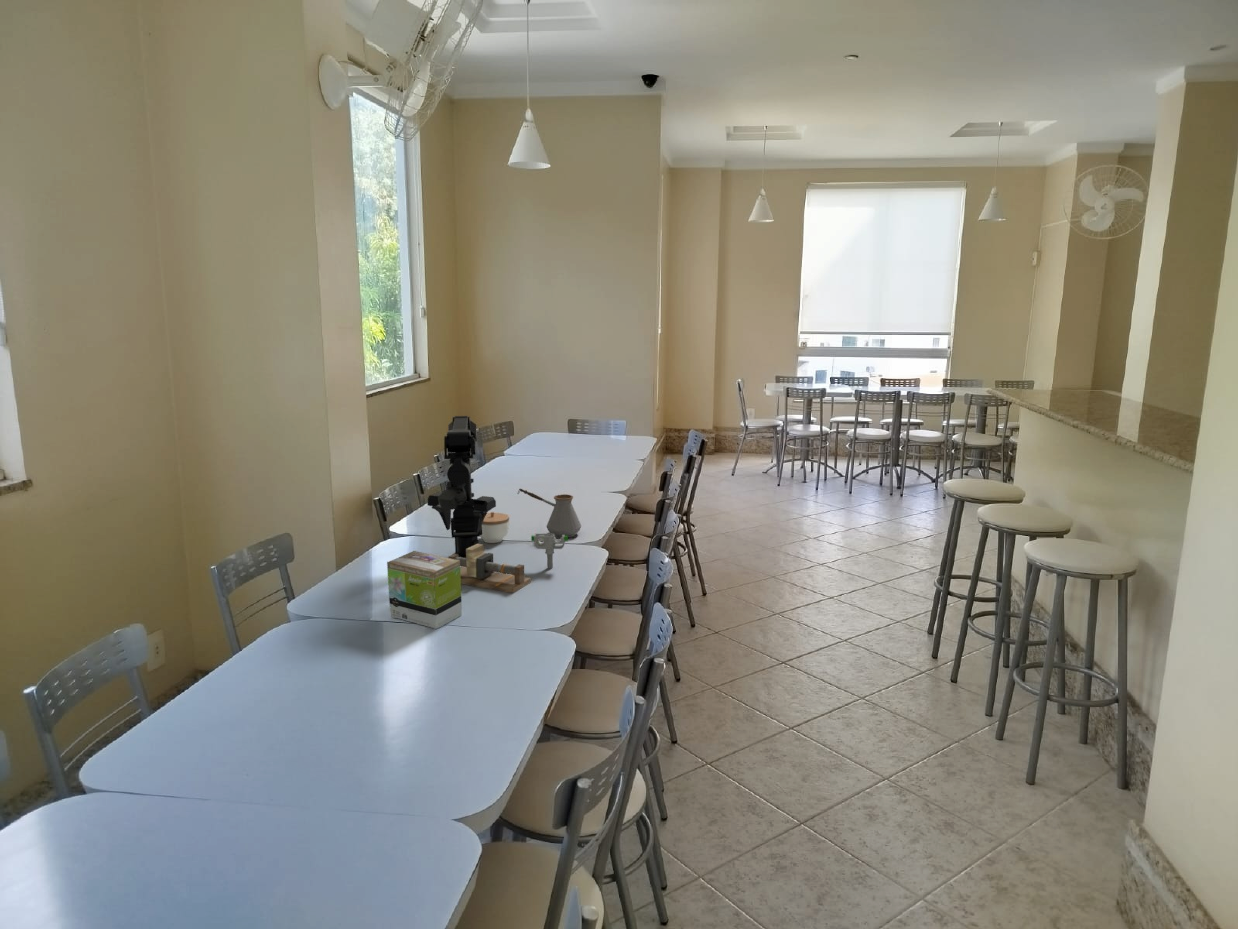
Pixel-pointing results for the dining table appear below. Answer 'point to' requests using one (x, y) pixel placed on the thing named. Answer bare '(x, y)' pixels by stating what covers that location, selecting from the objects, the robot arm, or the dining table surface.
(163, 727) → the dining table surface
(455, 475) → the robot arm
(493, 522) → the lidded jar
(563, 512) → the coffee pot
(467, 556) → the sleeve
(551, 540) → the mechanical component
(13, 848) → the dining table surface
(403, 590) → the tea box
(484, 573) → the gray slab
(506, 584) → the pipe stand
